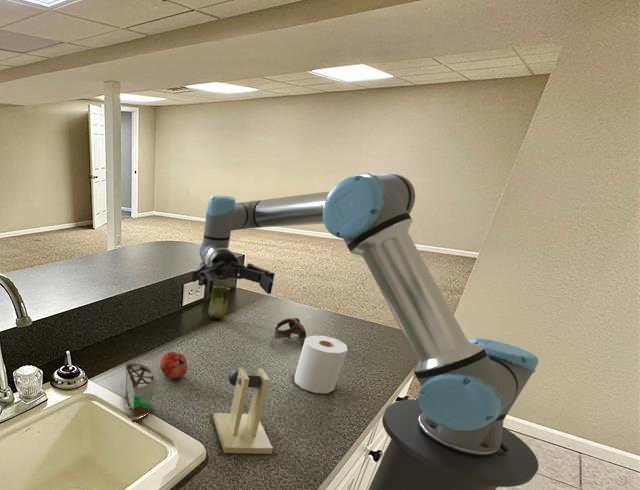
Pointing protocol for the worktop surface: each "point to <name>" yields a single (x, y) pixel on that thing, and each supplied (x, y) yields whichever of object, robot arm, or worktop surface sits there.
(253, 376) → the lever
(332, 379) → the toilet paper
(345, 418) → the worktop surface
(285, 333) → the brown curved openwork frame
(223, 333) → the worktop surface
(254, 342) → the worktop surface
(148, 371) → the food container
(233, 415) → the switch bracket
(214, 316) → the fennel bulb
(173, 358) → the pomegranate
